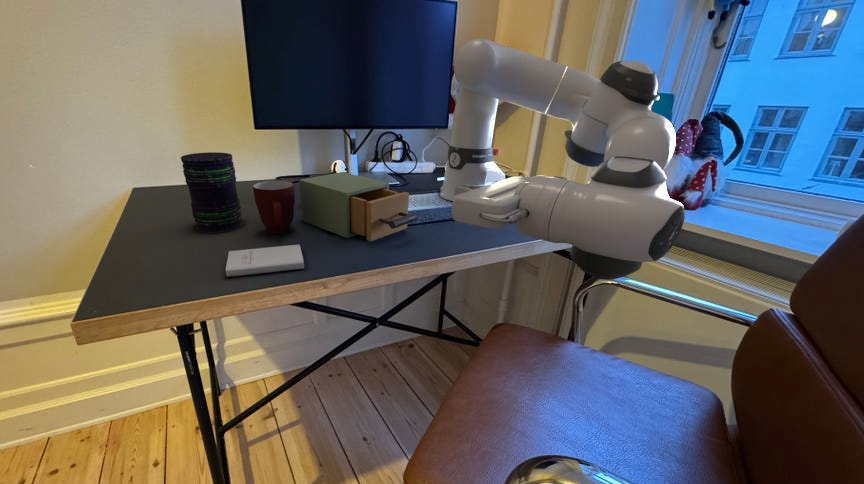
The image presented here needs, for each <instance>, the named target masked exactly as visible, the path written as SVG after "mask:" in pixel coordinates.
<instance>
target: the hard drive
mask: <svg viewBox="0 0 864 484" xmlns="http://www.w3.org/2000/svg"><path fill="white" fill-rule="evenodd" d="M295 270H305V262H304V255H303V253H302V249H301V244H291V245H281V246H279V245H278V246H270V247H259V248H249V249H238V250H229V251H228V255H227V258H226V265H225V276H226V277H227V278H229V277H241V276H248V275H258V274H267V273H275V272H276V273H277V272H284V271H285V272H286V271H295Z"/></svg>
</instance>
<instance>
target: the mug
mask: <svg viewBox="0 0 864 484" xmlns="http://www.w3.org/2000/svg"><path fill="white" fill-rule="evenodd" d="M252 191H253V198H254V202H255V205H256V208H257V211H258V215H259V218H260V221H261V222H262V225H264V227H265V229H266V230H267V231H268V232H269V233H270V234H272V235H283V234H286V233H288V232H289V230H290V227H291V226H292V223H293V220H294V213H295V212H294V211H295V201H296V199H295V198H296V193H295V184H294V183H293V182H291V181H287V180H266V181H259V182H257V183H256V182H255V183H254V184H253V185H252Z"/></svg>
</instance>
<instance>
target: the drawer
mask: <svg viewBox="0 0 864 484" xmlns="http://www.w3.org/2000/svg"><path fill="white" fill-rule="evenodd" d="M409 198H410V192H407V191H403V192H398V191H395V190H392V189H391V190H390V189H389V190H387V189H383V188H380V189H376V190H372V191H368V192H364V193H360V194H355V195H351V196H349V212H350V231H352V232H355V233H357V234H359V235H360V236H363V237H366V241H368V242H374V241H376V240H379V239H382V238H384V237H386V236H389V235H390V236H391V235H393V234H395V233H397V232H400V231H403V230H405V229H408V224H411V223H413V222H415V221H417V220H418V214H417V213H416V212H412V213H409V200H410V199H409Z"/></svg>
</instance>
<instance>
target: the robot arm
mask: <svg viewBox="0 0 864 484" xmlns="http://www.w3.org/2000/svg"><path fill="white" fill-rule="evenodd" d="M453 74H454V77H455V79H456V81H457V83H458V85H459V86H458V91H457V97H456V103H455V106H454V111H453V115H452V125H451V136H450V143H449V145H448V149H447V160H448V162H447V164H446V166H445V171H444V176H443V177H437V181H443V182H442V186H440V189H439V191H440V192H439V196H440V198H442V199H444V200H447V201H450V202H452V205H451V218H452V219H453V220H454V221H455V222H457V223H459V224H460V223H461V224H465V225H470V226H474V227H480V228H483V229H484V228H485V229H493V230H494V229H495V230H497V229H502V228H505V227H507V226H509V225H513V224H514V225H516V230H517V232H518V233H519V234H520V235H523V236H527V237H530V238H533V239H537V240H542V241H546V242H549V243H553V244H567V245H571V248H570V251H569V255H570V258H571V260H572V261H573V262H574V263H575V265H576V266H577V267H578V268H579V269H580V270H581V271H582V272H584V274H586V275H588V276H590V277H592V278H595V279H597V280H603V281H604V280H606V281H609V280H610V281H611V280H617V279H621V278H625V277H627V276H629V275H632V274H634V273H635V272H637V271H639V270H640V269H641V268H642V266H643V263H655V262H658V261H659V260H661V259H662V258H664V257H665V256H666V255H667V254H668V253H669V252H670V250H671V249H672V248H673V245H674V243H675V242H676V241H677V239H678V237H679V235H680V233H681V231H682V228H683V226H684V222H685V218H686V216H685V215H686V209H685V207H684V205H683V203H681V202H679V200H678V201H677V200H676V199H673V198H670V196H669V193H668V189H667V179H668V177H667V175H666V173H665V171H666V169H667V168H668V165H669V164H670V162H671V161H672V160H671V159H672V157H673V155H674V153H675V150H676V142H677V141H676V140H677V137H676V131H675V129H674V127H673V124H672V123H671V122H670V120H668V119H667V118H666V117H665V116H663V115H661V114H659V113H656V112H654V111H652V106H653V104H654V102H655V101H659V100H660V95H659V94H658V93H657V91H658V87H659V85H658V84H659V82H658V78H657V73H656V72H655V71H654V70H652V68H650V66H649V65H647V64H645V63H644V62H642V61H638V60H618V61H616V62H613V63H611V64H610V65H609V66H608V67H607V68H606V70H604V72H603V73H602V75H601V76H600V77H599V79H598V78H596V77H595V76H593V75H591V74H589V73H586V72H584V71H582V70H580V69H577V68H575V67H572V66H569V65H565V64H562V63H559V62H555V61H552V60H549V59H547V58H542V57H540V56H537V55H533V54H530V53H528V52H526V51H522V50H519V49H517V48H513V47H511V46H508V45H505V44H502V43H500V42H496V41H494V40H490V39H487V38H484V37H483V38H482V37H481V38H479V37H478V38H474V39H471V40H468V42H466V43H464V44H463V45H462V46H461V47H460V49H459V50H458V52H457V53H456V55H455V59H454V62H453ZM499 101H503V102H504V103H505V102H506V103H509V104H511V105H516V106H518V107H521V108H525V109H528V110H530V111H534V112H536V113H540V114H542V115H546V116H549V117H552V118H556V119H560V120H561V119H562V120H565V121H567V122H569V123H570V124H571V126H572V130H571V129H570V130H568V129H567V130H565V131H564V136H565V138H566V139H565V145H564V148H565V151H566V154H567V156H568V158H569V159H571V161H573V162H574V163H575V162H576V163H577V164H579V165H582V166H585V167H590V168H594V169H593V170H592V172H591V174H590V176H589V178H588V180H587V183H586V184H585V183H584V184H583V183H580V182H577V181H575V180H572V179H568V177H564V176H556V175H554V176H548V175H547V176H546V175H542V174H541V175H540V174H538V175H534V176H524V175H523V176H522V175H520V176H517V175H515V176H511V177H508V178H506V173H504V171H502V170H501V168H500V167H499V166H498V165H497V164H496V163H495V162H494V156H496V157H499V155H500V154H501V151H502V150H501V149H500V148H496V147H492V144H493V143H492V142H493V138H494V137H493V136H494V130H495V129H494V128H495V123H496V116H497V111H498V106H499ZM441 193H442V194H443V195H442V194H441Z"/></svg>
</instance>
